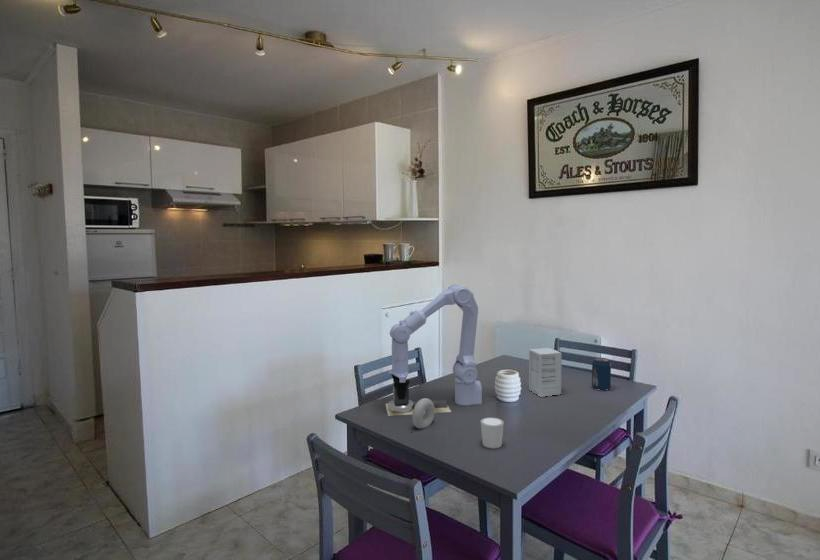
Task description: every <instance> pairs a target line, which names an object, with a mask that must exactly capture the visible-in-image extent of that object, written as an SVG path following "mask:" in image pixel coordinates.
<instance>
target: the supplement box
mask: <svg viewBox="0 0 820 560" xmlns="http://www.w3.org/2000/svg"><path fill="white" fill-rule="evenodd" d="M562 354H563V353H562V352H560V351H558V350H555V349H554V348H550V347H542V348H541V347H540V348H529V349H528V358H529V359H528V391H529V390H530V392H531V391H532V392H531V393H533V394H534V393H535V394H534V395H536V394H537V395H538V397H539V396H540V397H539V398H544V397H545V396H548V397H553V396H552V395H558V396H560V395H559V394H561V395H562V360H563V359H562ZM537 395H536V396H537ZM545 398H546V397H545Z"/></svg>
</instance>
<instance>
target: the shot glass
mask: <svg viewBox="0 0 820 560" xmlns="http://www.w3.org/2000/svg"><path fill="white" fill-rule="evenodd" d="M504 424H505V423H504V420H503V419H501V418H497V417H491V416H490V417H484V418H482V419H480V428H481V429H480V430H481V439H482V440H481V441H482V445H483V446H484V447H485V448H488V449H498V448H500V447H502V444H503V434H504Z"/></svg>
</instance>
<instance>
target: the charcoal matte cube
mask: <svg viewBox="0 0 820 560" xmlns="http://www.w3.org/2000/svg"><path fill="white" fill-rule="evenodd" d="M409 389H410V388H409V385H408V387H407V390H406V395H405V399H401V400H399V399H398V395H397V389H396V386H395V384H394V382H393V383H392V400H393V401H394V405H397V404H409V400H410V398H409V397H410V396H409V394H410V390H409Z"/></svg>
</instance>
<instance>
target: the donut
mask: <svg viewBox="0 0 820 560" xmlns="http://www.w3.org/2000/svg"><path fill="white" fill-rule="evenodd" d="M432 401H433V400H431V399H430V398H427V397H424V398H421V399H418V401H416V402H417V404H416V405H415V407H414V410H413V414H411V417H412V418H411V419H412V423H413V425H414V427H415V428H416V429H419V430H422V429H426V428H428V427H429V426H430V425H431V424H432V423H433V420H434V417H435V414H436V413H435V407H434V404H433V402H432ZM424 411H425V412H424ZM423 413H424V414H423Z"/></svg>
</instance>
